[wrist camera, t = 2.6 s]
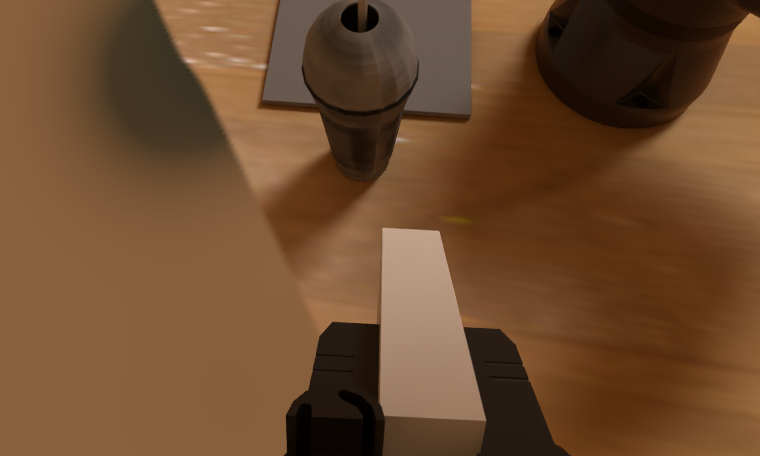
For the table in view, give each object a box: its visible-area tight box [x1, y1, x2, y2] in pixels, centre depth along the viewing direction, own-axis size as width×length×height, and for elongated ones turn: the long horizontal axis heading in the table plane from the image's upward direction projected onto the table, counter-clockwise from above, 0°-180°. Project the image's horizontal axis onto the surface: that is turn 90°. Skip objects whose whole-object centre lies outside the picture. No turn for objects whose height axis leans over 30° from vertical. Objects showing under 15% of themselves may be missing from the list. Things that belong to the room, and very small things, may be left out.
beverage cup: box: [301, 0, 419, 181], centre depth 31 cm, size 7×7×20 cm
